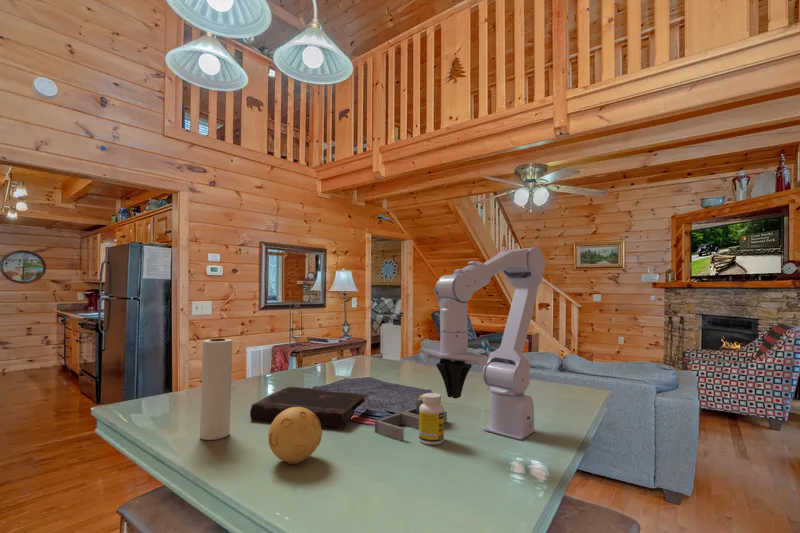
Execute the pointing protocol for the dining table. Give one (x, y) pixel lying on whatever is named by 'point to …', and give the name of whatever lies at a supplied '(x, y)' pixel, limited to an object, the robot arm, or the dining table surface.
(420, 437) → the supplement bottle
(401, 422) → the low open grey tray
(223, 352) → the paper towel roll
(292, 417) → the stress ball
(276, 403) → the diary
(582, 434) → the dining table surface
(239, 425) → the dining table surface
